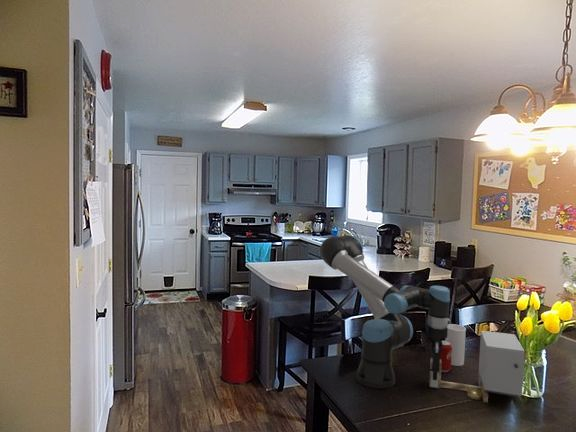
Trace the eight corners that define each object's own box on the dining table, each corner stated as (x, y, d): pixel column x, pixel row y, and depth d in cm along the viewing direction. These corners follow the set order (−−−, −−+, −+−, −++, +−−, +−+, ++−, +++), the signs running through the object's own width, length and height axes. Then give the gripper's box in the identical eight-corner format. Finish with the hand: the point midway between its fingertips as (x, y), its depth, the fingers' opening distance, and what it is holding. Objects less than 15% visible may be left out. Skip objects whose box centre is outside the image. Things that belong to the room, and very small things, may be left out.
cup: (467, 363, 188) (469, 328, 187) (456, 367, 183) (458, 331, 182) (451, 357, 194) (453, 323, 193) (440, 360, 190) (442, 326, 189)
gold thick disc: (467, 398, 155) (467, 393, 155) (467, 392, 160) (467, 387, 160) (482, 401, 154) (482, 395, 153) (481, 395, 158) (481, 389, 158)
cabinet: (483, 405, 150) (487, 347, 149) (478, 383, 168) (480, 330, 167) (521, 412, 146) (525, 352, 145) (511, 388, 164) (514, 334, 163)
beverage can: (452, 373, 176) (453, 345, 175) (436, 372, 177) (437, 344, 177) (449, 367, 182) (450, 340, 182) (434, 366, 184) (435, 339, 183)
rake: (429, 393, 159) (430, 367, 158) (429, 382, 168) (430, 357, 167) (487, 402, 152) (489, 375, 152) (484, 390, 161) (485, 365, 161)
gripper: (449, 334, 154) (445, 396, 156) (446, 321, 170) (443, 376, 172) (427, 331, 157) (423, 392, 158) (427, 318, 173) (424, 373, 174)
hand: (434, 384), depth 165 cm, fingers closed on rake, 4 cm apart
